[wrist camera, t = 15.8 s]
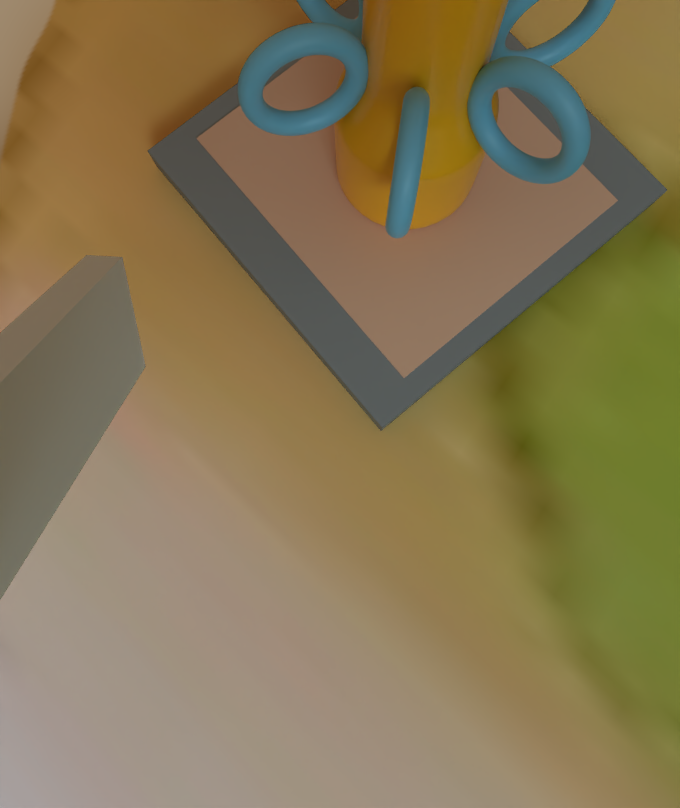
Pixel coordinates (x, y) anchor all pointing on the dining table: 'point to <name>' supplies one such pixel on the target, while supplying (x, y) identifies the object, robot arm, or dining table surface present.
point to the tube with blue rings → (424, 99)
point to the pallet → (384, 255)
